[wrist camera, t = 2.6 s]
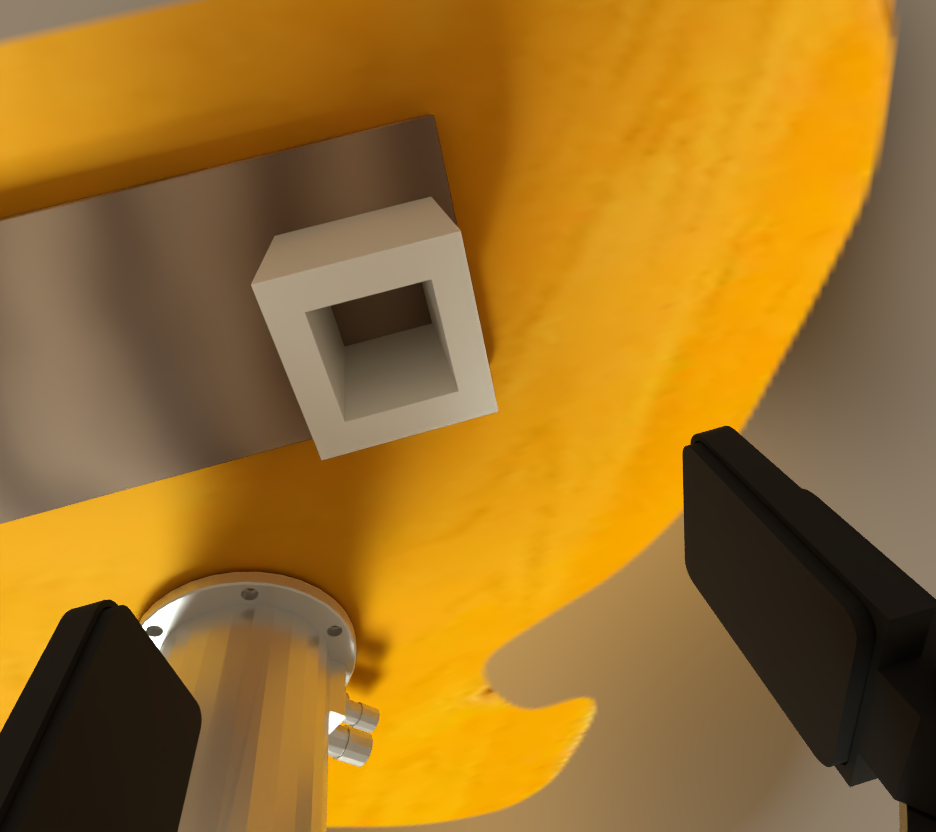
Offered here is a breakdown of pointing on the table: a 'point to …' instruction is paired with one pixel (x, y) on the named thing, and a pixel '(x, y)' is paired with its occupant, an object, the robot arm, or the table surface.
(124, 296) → the walnut board
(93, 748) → the robot arm
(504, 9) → the table surface
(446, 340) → the cream housing
